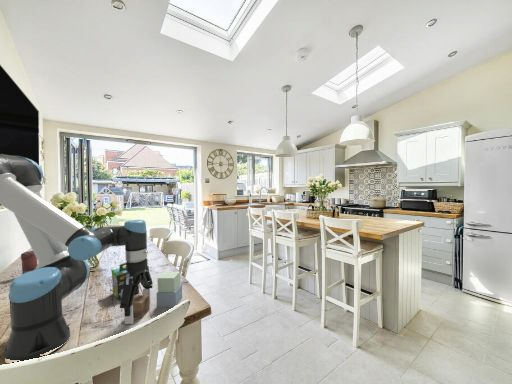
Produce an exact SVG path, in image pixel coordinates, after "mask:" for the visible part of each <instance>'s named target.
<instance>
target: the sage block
mask: <svg viewBox="0 0 512 384" xmlns="http://www.w3.org/2000/svg"><path fill="white" fill-rule="evenodd" d="M180 284H181V272H180V271H164V272H162V274H160V275H159V276H158V277H157V292H175V291H176V290H177V288H178V287H179V286H180Z"/></svg>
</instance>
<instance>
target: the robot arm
mask: <svg viewBox="0 0 512 384" xmlns="http://www.w3.org/2000/svg"><path fill="white" fill-rule="evenodd" d="M43 178H44V171H43V169H42V167H41V166H40V165H39V164H38V163H37V162H36V161H34V160H33V159H30V158H28V157H24V156H20V155H10V154H4V153H0V206H3V207H4V208H5V209H7V210H9V211H10V212H12V213H13V214H14V217H15V218H16V221H17V223H18V224H19V226H20V228H21V230H22V232H23V234H24V236H25V239H26V240H27V242H28V243H29V245H30V247H31V251H33V252H34V254H35V256H36V257H37V267H36V268H35V269H36V270H33V271H30V272H27V273H24V274H19V276H17V277H15V278H14V279H13V280H12V281H11V283H10V285H9V292H8V299H9V308H10V309H9V313H10V325H11V326H10V328H11V330H10V331H11V332H10V334H9V338H8V340H7V345H6V346H5V349H4V350H3V358H4V357H5V358H6V359H10V360H20V361H24V360H29V359H33V358H39V357H42V356H40V354H44V353H46V352H49V351H50V350H53V349H55V348H57V347H59V346H61V345H62V344H64V343H65V342H66V341H67V340H68V339H69V337H70V338H71V328H70V326H69V325H68V324H67V321H66V320H65V317H64V315H63V300H64V299H65V298H67V297H68V296H69V295H71V294H72V293H73V292H75V291H77V290H78V289H80V288H81V287H82V285H83V284H85V282H87V279H88V278H89V276H90V265H89V263H88V262H87V260H90V259H92V258H94V257H96V256H97V255H99V254H101V253H102V252H104V251H106V250H107V249H109V248H110V247H123V246H124V250H125V254H124V255H125V261H126V262H125V263H126V265H125V266H126V271H127V272H129V273H130V276H129V278H125V279H124V288H123V293H122V298H121V299H120V304H119V309H124V325H133V324H134V318H133V305H132V301H133V298H134V295H136V294H135V291H136V288H137V287H138V285H141V286H142V288H143V289H142V295H149V305H151V289H153V283H154V282H153V280H152V276H151V274H150V270H149V269H150V267H149V266H148V265H149V264H148V254H149V253H148V243H147V242H148V241H147V240H148V238H147V234H148V233H147V232H148V231H147V223H146V221H145V220H144V219H129V220H126V221H125V222H124V224H123V225H119V226H98V227H92V228H91V229H89V228H88V227H87V226H85V225H84V224H82V223H81V222H79V221H77V220H76V219H75V218H73V217H72V216H71V215H69V214H67V213H66V212H64V211H62V210H61V209H60V208H58V207H57V206H55V205H54V204H52V203H50V202H49V201H47V200H46V199H45V198H43V196H42V195H41V190H42V189H43V185H42V181H43ZM132 284H133V285H132ZM69 340H70V339H69ZM69 340H68V341H69ZM43 356H45V355H43ZM17 362H19V361H17ZM12 363H14V362H12Z"/></svg>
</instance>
